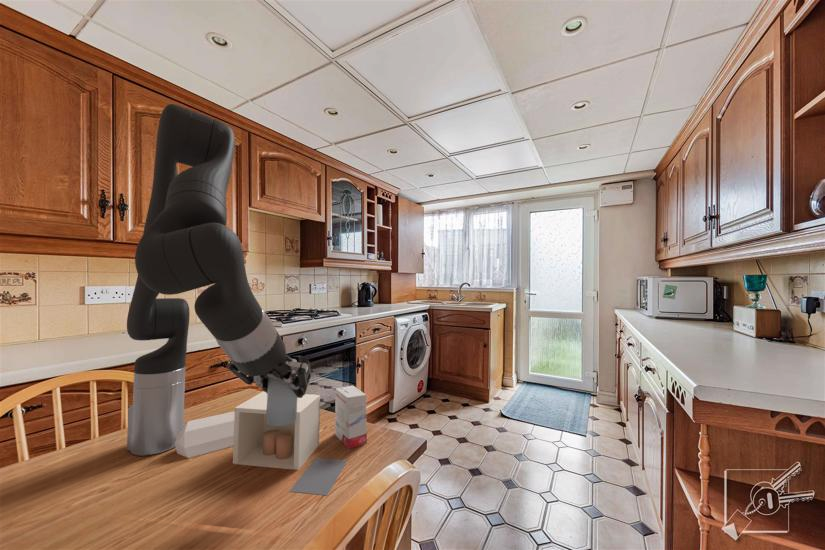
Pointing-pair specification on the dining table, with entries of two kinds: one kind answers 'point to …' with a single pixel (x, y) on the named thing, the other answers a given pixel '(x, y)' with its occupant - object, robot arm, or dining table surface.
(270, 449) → the brown tapered cup
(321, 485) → the mat
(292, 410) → the jar
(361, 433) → the ink box
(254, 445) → the cubby
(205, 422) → the white beveled prism
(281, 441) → the rounded tan cylinder
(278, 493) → the dining table surface
